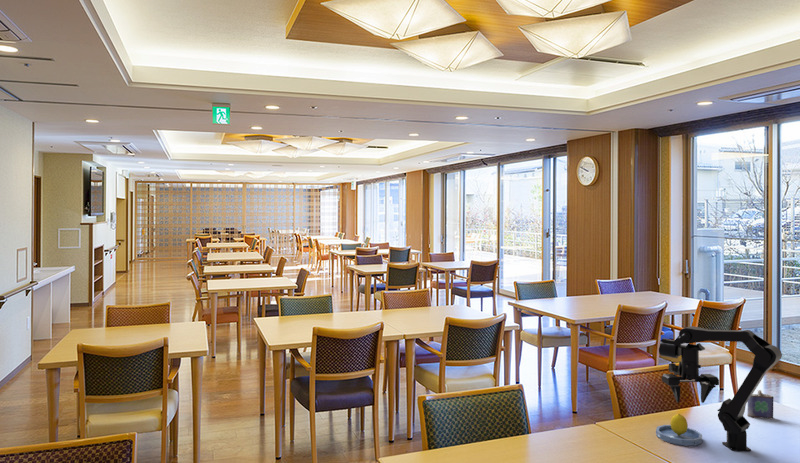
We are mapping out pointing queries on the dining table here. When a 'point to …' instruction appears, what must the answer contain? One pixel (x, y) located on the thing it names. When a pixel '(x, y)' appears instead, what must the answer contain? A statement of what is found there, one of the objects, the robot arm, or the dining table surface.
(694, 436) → the light blue round dish
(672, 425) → the lemon
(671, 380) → the robot arm
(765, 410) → the flask
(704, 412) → the dining table surface
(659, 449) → the dining table surface
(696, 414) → the dining table surface
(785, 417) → the dining table surface
